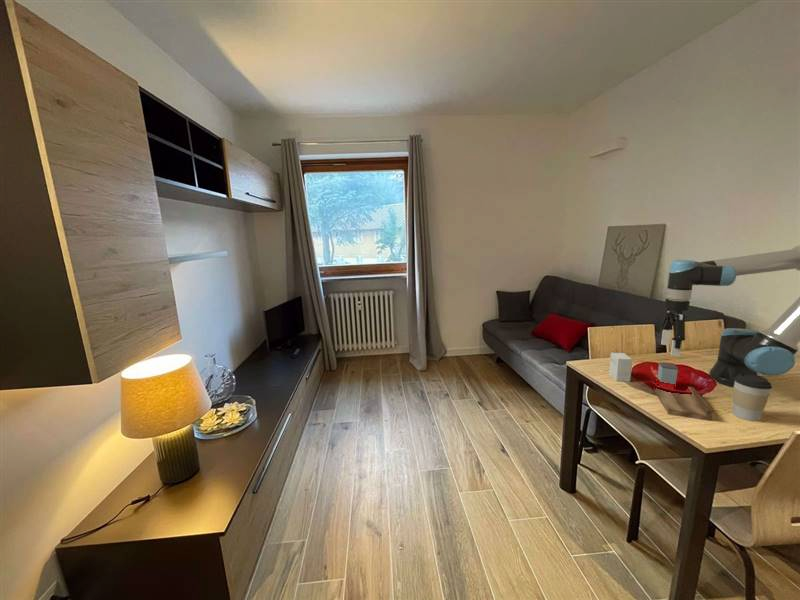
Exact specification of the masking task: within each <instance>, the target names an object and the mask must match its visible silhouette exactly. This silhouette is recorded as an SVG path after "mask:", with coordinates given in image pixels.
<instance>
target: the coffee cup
mask: <svg viewBox="0 0 800 600" xmlns="http://www.w3.org/2000/svg"><path fill="white" fill-rule="evenodd" d="M734 381H735V383H734V387H732V388H733V390H732V391H733V392H732V415H733V416H735V417H736V418H738V419H741V420H744V421H747V420H748V421H747V422H754V421H757V422H760V421H759V420H761V418H762V416H763V412H764V410H765V408H766V405H767V403H768V399H769V397H770V391H771V389H772V388H773V387H772V383H771V382H770V381H769V380H768V379H767V378H766V377H763V376H761V375H759V374H758V375H754V374H747V373H743V374H742V373H740V374H739V375H738V376H736V377H735V378H734Z"/></svg>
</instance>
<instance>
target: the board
mask: <svg viewBox="0 0 800 600" xmlns="http://www.w3.org/2000/svg"><path fill="white" fill-rule="evenodd" d="M688 389H689V390H690V391H691V392H692V394H691V395H690V394H679V393H671V392H666V391H663V390H660V389H657V388H656V389H655V388H654V390H655V391H654V393H655V392H656V393H655V395H656V396H657V398H658V399H659V401H660V403H661V405H662V406H663V407H664V409H665V411H666V413H667V415H672V416H679V417H685V418H690V419H697V420H701V421H708V422H712V419H713V416H714V415H713V414H714V410H713V409H712V407H710V405H709V404H708V403H707V401H705V399H704V398H703V397H702V396H701V395H700V394H699V392H698V391H697V390H696V389H695V388H694V386H688V387H687V390H688Z"/></svg>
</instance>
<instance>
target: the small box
mask: <svg viewBox="0 0 800 600" xmlns="http://www.w3.org/2000/svg"><path fill="white" fill-rule="evenodd" d="M632 365H633V358H631V357H630V356H629V355H627V353H624V352H610V360H609V370H608V374H609V375H610V377H612V378H613V379H614V380H615V382H631V375H632Z"/></svg>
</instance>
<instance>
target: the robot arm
mask: <svg viewBox="0 0 800 600" xmlns="http://www.w3.org/2000/svg"><path fill="white" fill-rule="evenodd" d="M788 270H789V271H790V270H796V271H799V272H800V245H796V246H794V247H793V248H792V249H785V250H778V251H771V252H765V253H757V254H751V255H750V254H749V255H742V256H733V257H729V258H728V257H727V258H721V259H720V258H719V259H713V260H708V261H707V260H706V261H695V260H691V259H690V260H689V259H675V260H673V261H671V263H670V267H669V271H668V279H667V290H664V293H666V295H665V297H666V298H665V301H664V305H663V306H664V308H665V314H664V318H663V320H662V323H661V327H662V329H663V330H662V333H661V339H660V340H661V342H660V345H663V346H670V343H671V340H672V343H671V348H670V349H671V350H670V356H673V357H674V356H675V357H681V351H682V345H683V342H684V341H686V322H685V321H686V314H683V311H684V312H686V311H688V310H689V309H690V300H691V299H692V298H691V297H692V291H693V286H713V287H714V286H716V287H717V286H718V287H722V286H723V287H725V286H726V287H727V286H732V285H733V284H734V283H735V281H736V278H737V277H738V276H746V275H754V274H762V273H773V272H779V271H788ZM672 331H673V337H672ZM671 337H672V338H671ZM799 342H800V296H799V297H798V298H797V299H796V300H795V301H794V302H793V303H792V304H791V305H790V306H789V307H788V308H787V309H786V310H785V311H784V312H783V313H782V314H781V316H779V318H777V319H776V320H775V321H774V323H772V324H771V326H770V327H768V328H767V329H766V330H755V329H747V328H739V327H738V328H737V327H736V328H735V327H733V328H732V327H729V328H728V327H726V328H724V329H723V330H722V332H721V335H720V343H719V349H718V354H717V360H716V362H714V364H713V366H712V367H711V369H710V370H709V375H710V376H711V377H712V378H713V379H715V380H716V381H717V382H716V381H715V382H716V383H718V384H721V385H724V386H728V387H731V388H734V383H735V381H734V378H735V377H736V376H738V375H739V374H740V373H742V374H743V373H747V374H754V375H758V376H759V374H760V375H763V376H767V377H770V376H771V377H772V376H780V375H784V374H786V373H788V372H789V371H791V370H792V369H793V368H794V366H795V364H796V361H795V359H796V357H795V355H796V354H797V352H798V351H799V347H798V344H799ZM709 375H708V376H709Z"/></svg>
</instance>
